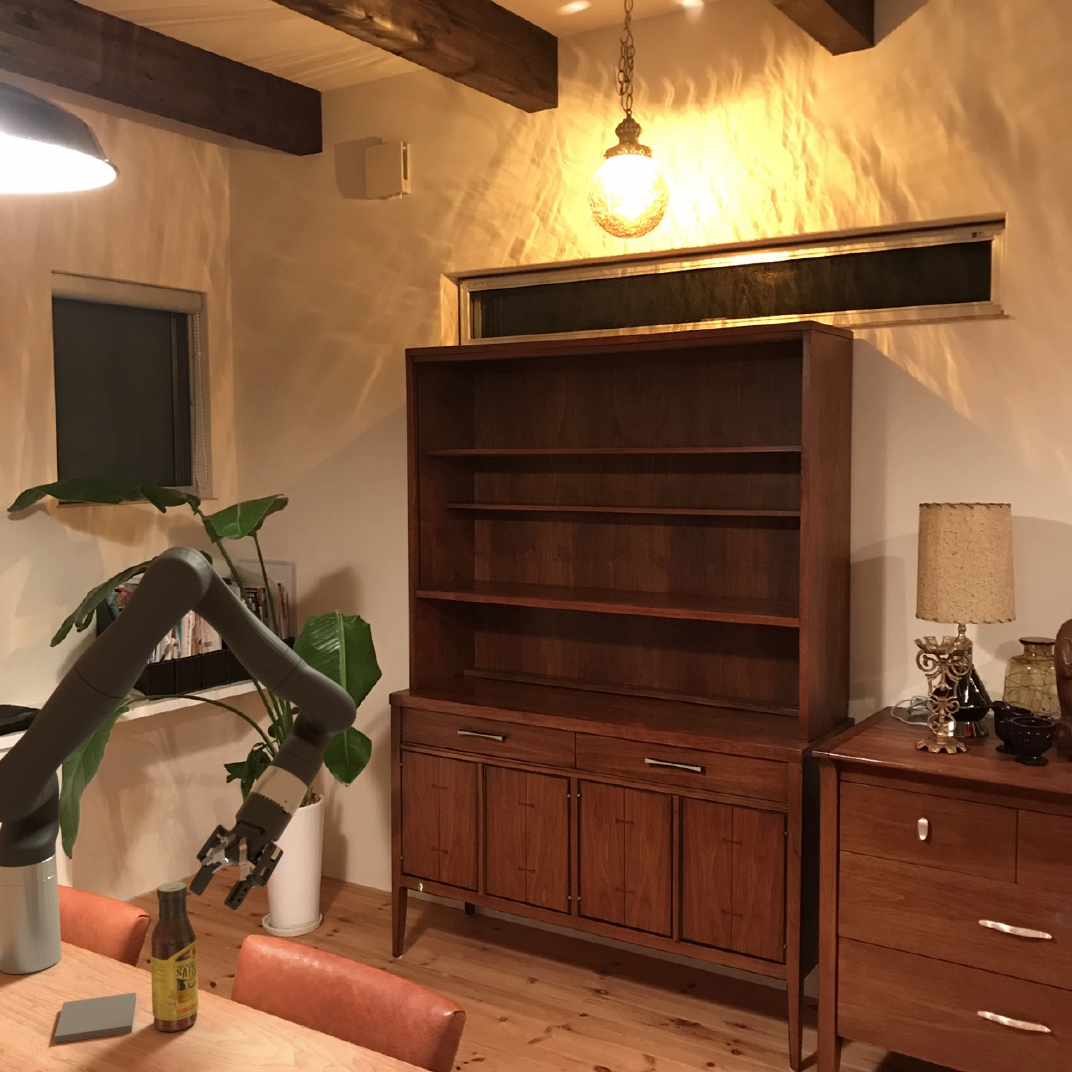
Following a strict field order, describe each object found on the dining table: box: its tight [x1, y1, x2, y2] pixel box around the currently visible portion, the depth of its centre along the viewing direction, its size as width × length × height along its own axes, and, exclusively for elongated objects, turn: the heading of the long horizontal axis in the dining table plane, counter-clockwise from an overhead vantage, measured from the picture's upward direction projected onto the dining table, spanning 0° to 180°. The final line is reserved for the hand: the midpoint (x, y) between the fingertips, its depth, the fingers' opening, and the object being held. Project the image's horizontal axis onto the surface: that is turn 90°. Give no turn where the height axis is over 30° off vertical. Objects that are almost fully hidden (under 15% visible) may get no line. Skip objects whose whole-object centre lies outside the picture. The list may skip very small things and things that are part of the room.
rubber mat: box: [54, 992, 137, 1044], centre depth 166 cm, size 10×10×1 cm
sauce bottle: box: [150, 881, 199, 1033], centre depth 164 cm, size 7×6×20 cm
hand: (211, 900), depth 169 cm, fingers open, 8 cm apart
